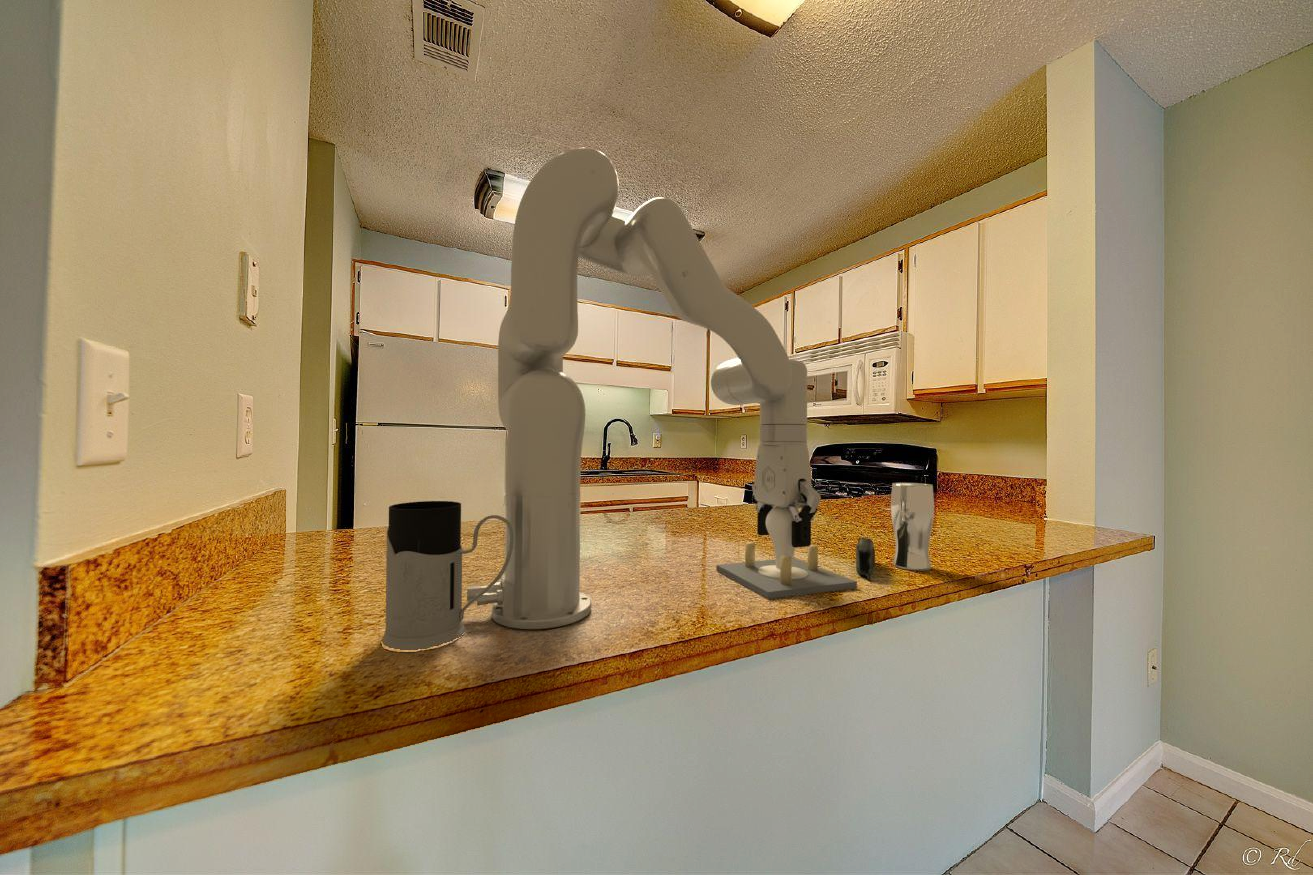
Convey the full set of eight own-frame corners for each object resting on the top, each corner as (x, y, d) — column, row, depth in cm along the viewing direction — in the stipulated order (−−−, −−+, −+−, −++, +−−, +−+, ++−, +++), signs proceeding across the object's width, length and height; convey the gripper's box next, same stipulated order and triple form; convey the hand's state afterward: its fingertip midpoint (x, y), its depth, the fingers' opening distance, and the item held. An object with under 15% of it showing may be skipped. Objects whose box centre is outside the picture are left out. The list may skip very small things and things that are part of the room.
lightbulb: (807, 578, 75) (809, 507, 75) (768, 576, 76) (769, 506, 76) (798, 567, 81) (799, 502, 81) (761, 566, 82) (763, 501, 82)
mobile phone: (855, 535, 93) (856, 549, 79) (873, 536, 92) (876, 550, 78) (856, 561, 93) (856, 579, 79) (873, 562, 91) (876, 582, 78)
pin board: (767, 598, 69) (768, 564, 69) (716, 570, 84) (716, 541, 84) (856, 588, 74) (857, 555, 74) (793, 563, 89) (793, 536, 89)
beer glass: (882, 564, 89) (882, 483, 89) (907, 560, 92) (908, 482, 92) (916, 573, 83) (916, 486, 83) (942, 569, 86) (943, 485, 86)
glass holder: (401, 622, 59) (402, 500, 59) (519, 619, 60) (520, 499, 60) (364, 654, 50) (366, 510, 50) (504, 649, 52) (505, 509, 52)
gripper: (736, 436, 86) (736, 532, 86) (796, 435, 70) (795, 553, 70) (772, 436, 89) (772, 529, 88) (838, 436, 72) (837, 550, 72)
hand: (782, 540), depth 79 cm, fingers open, 9 cm apart
